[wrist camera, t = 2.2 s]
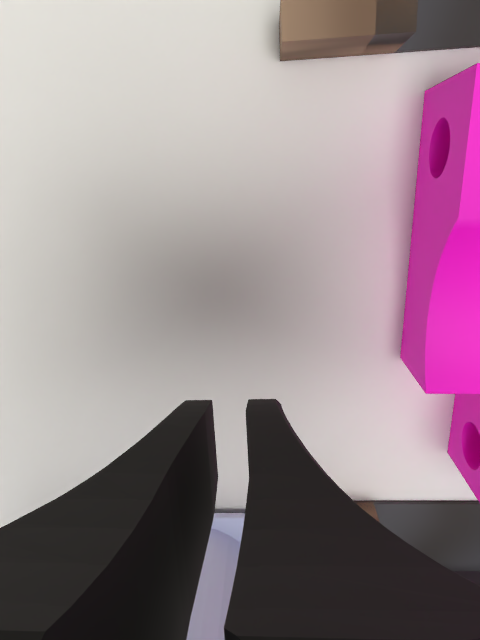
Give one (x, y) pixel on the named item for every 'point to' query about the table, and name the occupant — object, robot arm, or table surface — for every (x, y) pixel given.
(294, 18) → the trap channel
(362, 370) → the table surface
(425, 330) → the toy block
